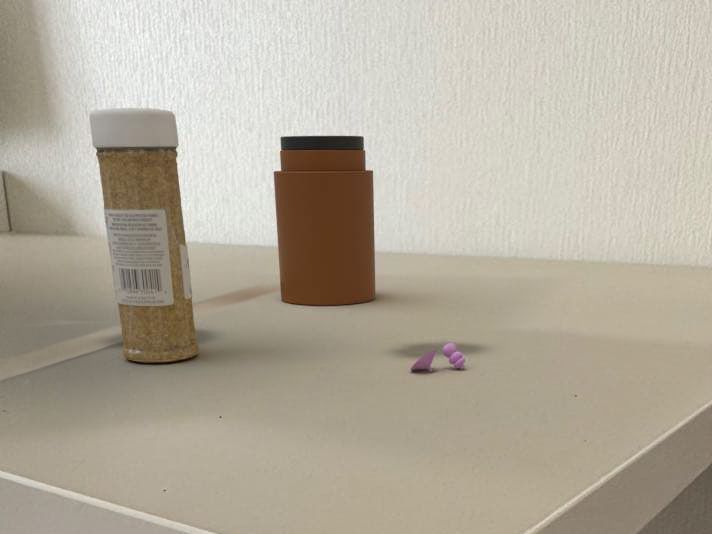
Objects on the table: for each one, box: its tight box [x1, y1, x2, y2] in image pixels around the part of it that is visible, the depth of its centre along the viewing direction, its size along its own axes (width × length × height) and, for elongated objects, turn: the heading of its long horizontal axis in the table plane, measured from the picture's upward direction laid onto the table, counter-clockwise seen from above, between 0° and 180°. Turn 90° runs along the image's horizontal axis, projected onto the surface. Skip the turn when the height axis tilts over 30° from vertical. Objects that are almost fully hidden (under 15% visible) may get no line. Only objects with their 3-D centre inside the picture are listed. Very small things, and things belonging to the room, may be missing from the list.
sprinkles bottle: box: [88, 107, 200, 364], centre depth 50 cm, size 5×5×13 cm
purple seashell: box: [410, 342, 467, 373], centre depth 49 cm, size 3×2×2 cm
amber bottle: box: [273, 135, 377, 306], centre depth 72 cm, size 8×8×12 cm
